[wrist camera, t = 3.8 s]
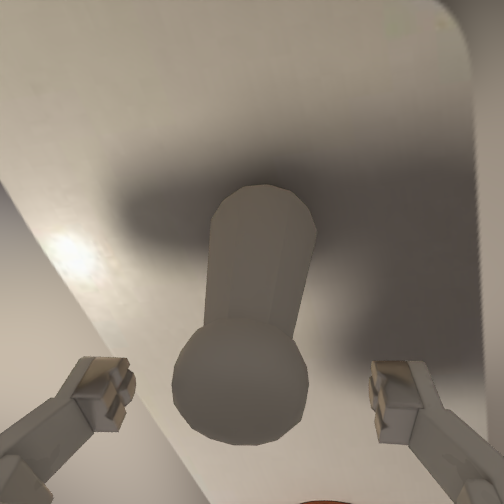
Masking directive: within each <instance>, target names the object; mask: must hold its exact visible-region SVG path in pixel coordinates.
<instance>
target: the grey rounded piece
mask: <svg viewBox="0 0 504 504" xmlns="http://www.w3.org/2000/svg"><path fill="white" fill-rule="evenodd" d="M316 236H317V230H316V227H315V224H314V221H313V218H312V216H311V213H310V210H309V208H308V207H307V206H306V205H305V204H304V203H303V202H302V201H301V200H300V199H299V198H298V197H297V196H296V195H295V194H294V193H293V192H292V191H289V190H286V189H282V188H279V187H276V186H272V185H269V184H265V185H253V186H244V187H242V188H241V189H239V190H237V191H236V192H234V193H233V194H231V195H230V196H228V197H227V198H225V199H224V200H223V201H222V202H221V204H220V206H219V207H218V209H217V211H216V212H215V214H214V216H213V217H212V219H211V224H210V239H209V253H208V268H207V283H206V298H205V312H204V326H203V327H201V328H199V329H198V330H197V331H196V332H195V333H194V334H193V335H192V337H191V338H190V339H189V341H188V342H187V343H186V345H185V346H184V348H183V349H182V350H181V352H180V354H179V357H178V359H177V361H176V364H175V366H174V372H173V379H172V393H173V402H174V405H175V406H176V408H177V409H178V411H179V412H180V414H181V415H182V416H183V418H184V419H185V420H186V422H187V423H188V424H189V425H190V427H191V428H192V429H194V430H196V431H197V432H199V433H201V434H203V435H205V436H206V437H208V438H210V439H213V440H216V441H220V442H224V443H227V444H231V445H260V444H264V443H268V442H272V441H276V440H278V439H279V438H280V437H282V436H283V435H284V434H285V433H287V432H288V431H289V430H290V429H292V428H293V427H294V426H295V425H296V424H298V423H299V422H300V421H301V418H302V415H303V411H304V408H305V404H306V399H307V393H308V387H309V381H308V372H307V366H306V364H305V362H304V360H303V358H302V356H301V354H300V351H299V349H298V347H297V345H296V343H295V341H294V340H292V338H293V333H294V329H295V325H296V321H297V316H298V312H299V308H300V304H301V300H302V295H303V291H304V287H305V283H306V278H307V274H308V270H309V266H310V262H311V258H312V254H313V250H314V245H315V241H316Z"/></svg>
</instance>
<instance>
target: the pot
mask: <svg viewBox="0 0 504 504" xmlns="http://www.w3.org/2000/svg"><path fill="white" fill-rule="evenodd" d="M302 504H348V503H342V502H333V501H316V502H307V503H302Z"/></svg>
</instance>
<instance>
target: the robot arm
mask: <svg viewBox="0 0 504 504" xmlns="http://www.w3.org/2000/svg"><path fill="white" fill-rule="evenodd" d="M129 366H130V363H129V361H128V359H127V358H118V357H90V356H84V357H82V358H81V359H79V361H78V362H77V364H76V365H75V367H74V368H73V370H72V371H71V373H70V375H69V376H68V378H67V379H66V381H65V383H64V384H63V385H62V387H61V389H60V390H59V392H58V393H57V395H56V396H55V398H50V399H48V400H47V401H45V402H44V403H43V404H41V405H40V406H38V407H37V408H36V409H34V410H33V411H31V412H30V413H29V414H27V415H26V416H25V417H23V418H22V419H20V420H19V421H18V422H16V423H15V424H13V425H12V426H11V427H9V428H8V429H6V430H5V431H4V432H2V433H1V434H0V504H51V503H52V500H53V494H52V493H51V492H50V491H49V489H48V488H47V487H46V486H45V483H46V482H47V481H48V480H49V479H50V478H51V477H52V476H53V475H54V473H56V471H58V469H60V468H61V466H62V465H63V464H64V463H65V462H66V461H67V460H68V459H69V458H70V457H71V456H72V455H73V454H74V453H75V452H76V451H77V450H78V449H79V448H80V447H81V446H82V445H83V444H84V443H85V442H86V441H87V440H88V439H89V438H90V437H91V436H92V435H93V434H94V432H119V429H120V427H121V425H122V422H123V420H124V418H125V415H126V410H125V406H126V405H127V404H129V403H130V402H131V401H132V399H133V396H134V394H135V388H136V378H135V375H134V373H133V372H131V371H130V370H129V369H128V368H129ZM371 372H372V376H371V377H369V384H368V386H369V399H370V404H371V408H372V409H373V410H374V411H375V413H376V414H375V420H374V423H375V428H376V432H377V437H378V441H379V443H386V444H400V445H409V446H408V447H409V448H410V449H411V450H412V452H413V453H414V454H415V455H416V457H417V458H418V459H419V460H420V462H421V463H422V464H423V465H424V466H425V468H426V469H427V470H428V471H429V473H430V474H431V475H432V476H433V478H434V479H435V480H436V481H437V483H438V484H439V485H440V486H441V487H442V489H443V490H444V491H445V492H446V494H447V495H448V496H449V497H450V499H451V500H452V501H453V502H454V504H504V456H502V455H501V454H500V453H499V452H498V451H497V450H496V449H495V448H493V447H492V446H491V445H490V444H489V443H488V442H487V441H485V440H484V439H483V438H482V437H481V436H480V435H478V434H477V433H476V432H475V431H474V430H473V429H472V428H470V427H469V426H468V425H467V424H466V423H465V422H464V421H462V420H461V419H460V418H459V417H458V416H457V415H456V414H454V413H453V412H452V411H451V410H448V409H444V407H443V404H442V402H441V399H440V397H439V395H438V392H437V390H436V387H435V385H434V382H433V380H432V378H431V375H430V373H429V370H428V368H427V366H426V364H425V363H424V362H423V361H372V363H371Z"/></svg>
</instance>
